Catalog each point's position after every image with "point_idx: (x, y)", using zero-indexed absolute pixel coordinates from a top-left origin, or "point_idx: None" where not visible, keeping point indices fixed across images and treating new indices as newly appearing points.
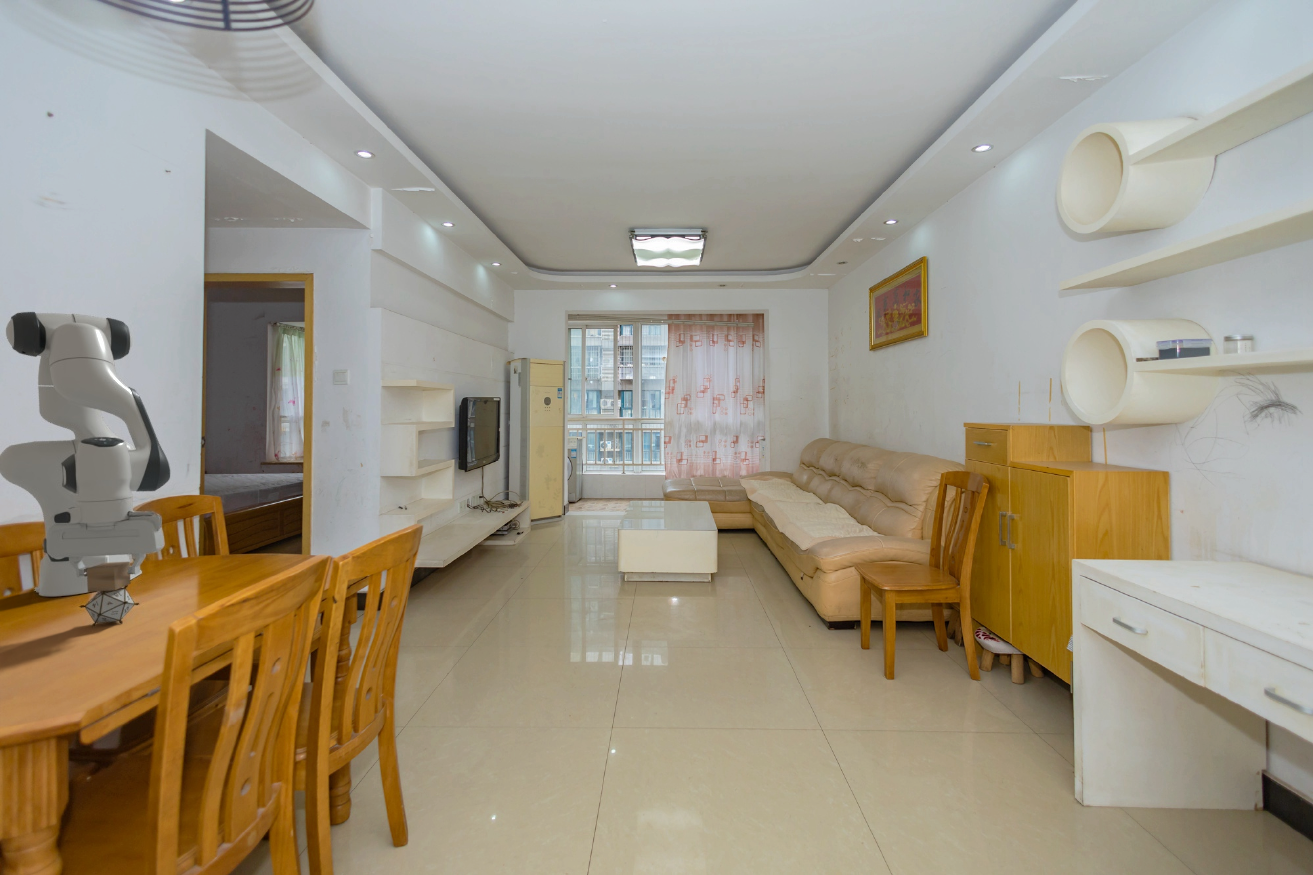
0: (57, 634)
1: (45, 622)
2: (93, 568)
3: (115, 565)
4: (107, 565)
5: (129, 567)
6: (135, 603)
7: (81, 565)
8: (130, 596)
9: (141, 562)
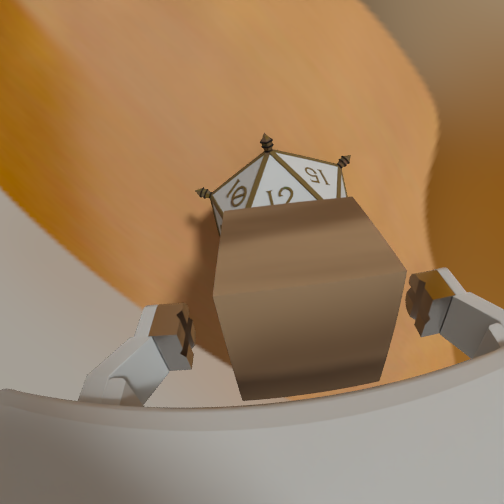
0: (197, 272)
1: (63, 179)
2: (278, 397)
3: (367, 356)
4: (316, 359)
5: (430, 332)
6: (341, 166)
7: (147, 364)
8: (340, 188)
9: (479, 301)
